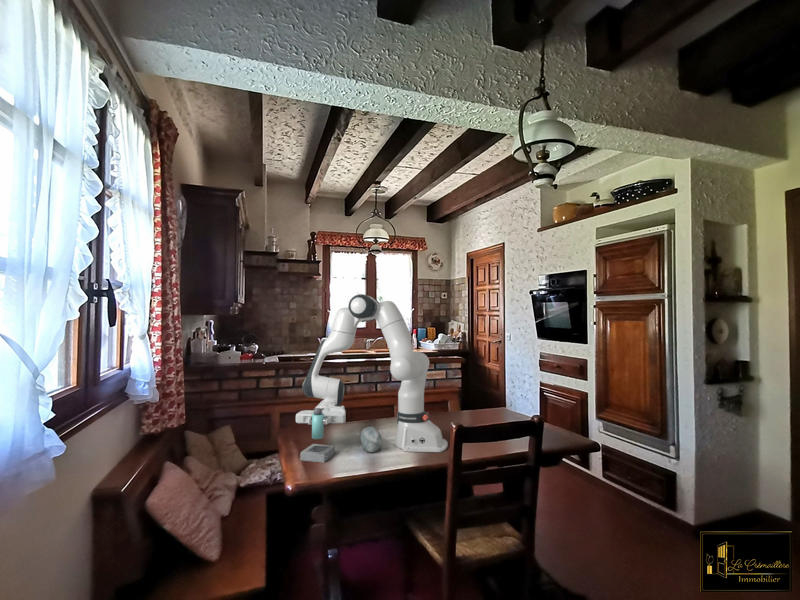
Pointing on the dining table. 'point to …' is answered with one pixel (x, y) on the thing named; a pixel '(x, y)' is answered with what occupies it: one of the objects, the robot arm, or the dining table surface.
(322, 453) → the housing
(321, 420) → the bottle
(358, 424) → the dining table surface
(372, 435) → the spool
